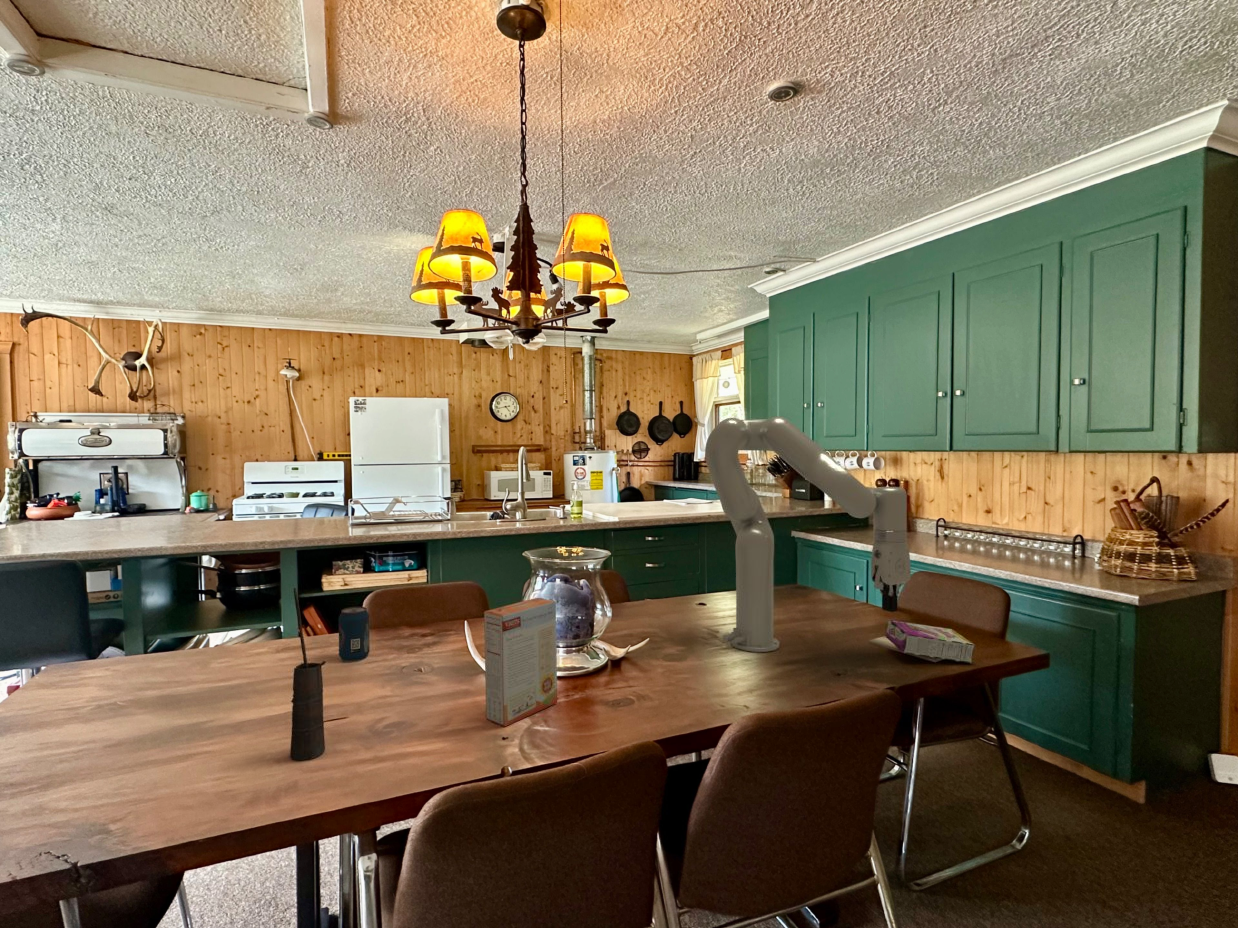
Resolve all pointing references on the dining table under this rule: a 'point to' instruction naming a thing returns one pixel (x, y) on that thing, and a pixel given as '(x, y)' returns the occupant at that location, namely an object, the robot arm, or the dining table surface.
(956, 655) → the candy bar box
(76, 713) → the dining table surface
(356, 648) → the soda can
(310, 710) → the butter churn
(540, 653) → the cracker box
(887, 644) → the beige flat rectangular panel
